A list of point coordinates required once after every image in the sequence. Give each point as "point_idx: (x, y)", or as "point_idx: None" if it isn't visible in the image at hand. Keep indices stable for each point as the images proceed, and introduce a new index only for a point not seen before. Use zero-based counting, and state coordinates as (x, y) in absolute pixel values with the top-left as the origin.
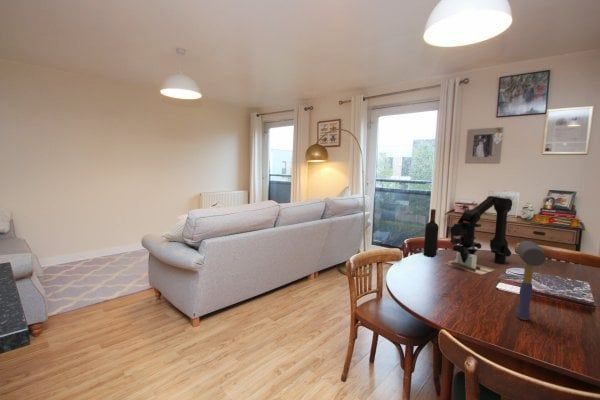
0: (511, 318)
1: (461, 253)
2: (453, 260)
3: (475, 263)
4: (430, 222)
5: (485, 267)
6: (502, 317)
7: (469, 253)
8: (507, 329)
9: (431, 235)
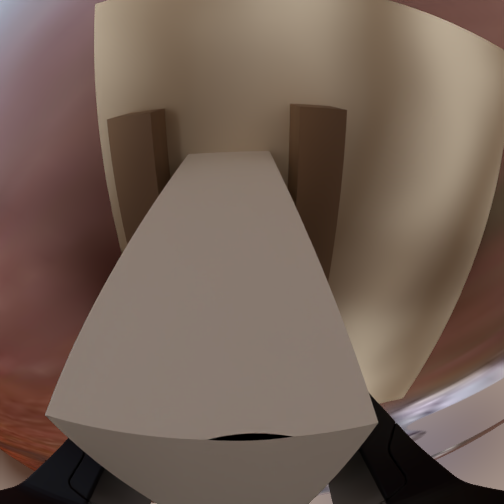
0: (32, 454)
1: (50, 498)
2: (393, 13)
3: (251, 436)
4: None
5: (409, 362)
6: (17, 445)
7: (352, 493)
8: (6, 445)
9: None
